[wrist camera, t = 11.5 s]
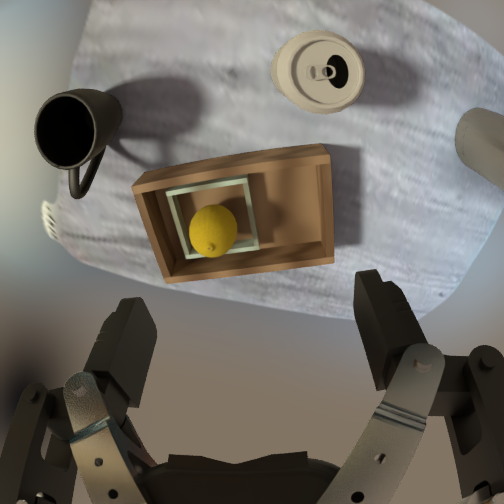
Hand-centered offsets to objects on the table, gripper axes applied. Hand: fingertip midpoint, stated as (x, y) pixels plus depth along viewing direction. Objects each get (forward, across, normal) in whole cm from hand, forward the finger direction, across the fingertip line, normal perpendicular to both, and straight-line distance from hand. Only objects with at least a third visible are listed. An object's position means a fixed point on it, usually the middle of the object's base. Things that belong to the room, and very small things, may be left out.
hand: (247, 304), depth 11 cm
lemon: (+27, +6, +9) cm, 29 cm away
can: (+28, -7, -7) cm, 30 cm away
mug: (+28, +18, -5) cm, 34 cm away
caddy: (+28, +3, +9) cm, 30 cm away
